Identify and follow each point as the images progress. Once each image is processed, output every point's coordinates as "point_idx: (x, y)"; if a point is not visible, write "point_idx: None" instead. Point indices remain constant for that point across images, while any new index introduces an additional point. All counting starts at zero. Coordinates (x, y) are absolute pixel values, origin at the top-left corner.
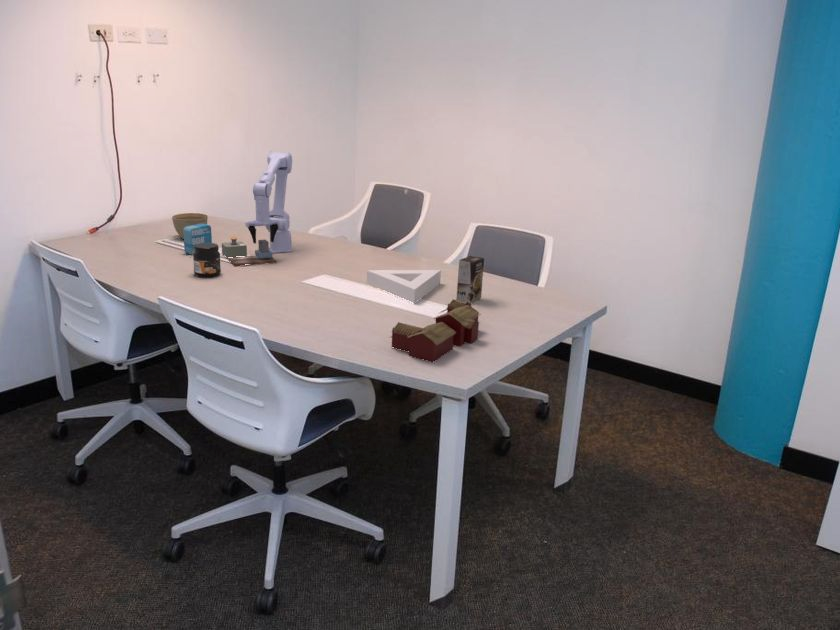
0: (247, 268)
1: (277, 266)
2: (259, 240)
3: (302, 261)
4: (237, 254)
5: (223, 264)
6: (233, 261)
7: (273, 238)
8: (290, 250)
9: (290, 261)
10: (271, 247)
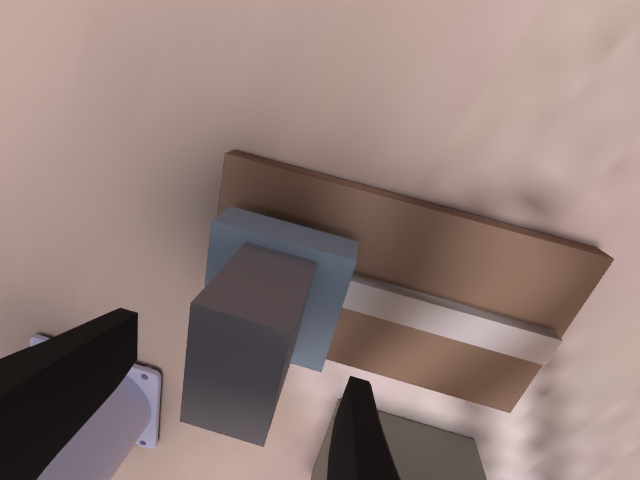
0: (558, 127)
1: (277, 29)
2: (264, 422)
3: (18, 67)
4: (402, 435)
5: (615, 343)
6: (562, 320)
7: (76, 332)
8: (39, 342)
9: (112, 125)
10: (136, 419)
